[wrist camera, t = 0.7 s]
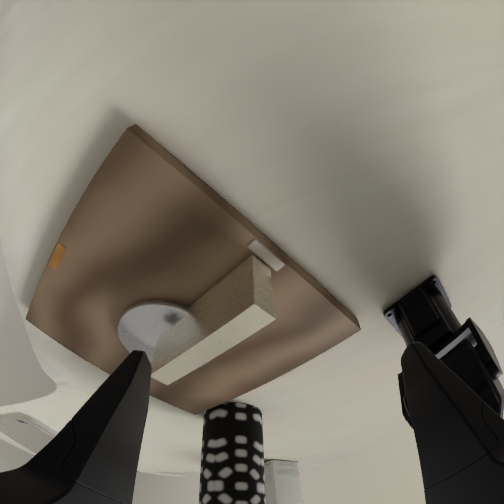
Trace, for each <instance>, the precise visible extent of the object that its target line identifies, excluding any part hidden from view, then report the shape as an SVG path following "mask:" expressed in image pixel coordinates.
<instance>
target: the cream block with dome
mask: <svg viewBox="0 0 504 504" xmlns="http://www.w3.org/2000/svg"><path fill="white" fill-rule="evenodd" d="M275 319H276V315H275V306H274V297H273V288H272V280H271V271H270V269H269V268H268V267H267V266H266V265H264V264H263V263H262V262H261V261H260V260H258V259H257V258H256V257H255V256H253V255H251V256H250V257H249V258H248V259H246V260H245V261H244V262H243V263H242V264H240V265H239V266H238V267H237V268H235V269H234V270H233V271H232V272H231V273H229V274H228V275H227V276H226V277H225V278H223V279H222V280H221V281H220V282H219V283H217V284H216V285H215V286H214V287H212V288H211V289H210V290H209V291H208V292H206V293H205V294H204V295H203V296H202V297H200V298H199V299H198V300H197V301H195V302H194V303H193V304H192V305H191V306H189V307H187V306H185V305H182V304H179V303H175V302H172V301H166V300H145V301H141V302H137V303H135V304H133V305H131V306H129V307H128V308H127V309H126V310H125V311H124V312H123V314H122V316H121V319H120V321H119V324H118V335H119V338H120V340H121V342H122V344H123V345H124V347H125V348H126V349H127V350H128V351H129V352H130V353H131V352H132V351H133V350H140V351H144V352H145V353H146V354H147V357H148V359H149V361H150V364H151V367H152V373H151V377H152V378H154V379H156V380H158V381H160V382H162V383H164V384H166V385H169V384H171V383H173V382H174V381H176V380H178V379H180V378H181V377H183V376H185V375H187V374H188V373H190V372H192V371H193V370H195V369H197V368H200V367H202V366H204V365H206V364H207V363H209V362H210V361H211V360H212V359H214V358H215V357H217V356H219V355H220V354H222V353H224V352H225V351H227V350H228V349H230V348H232V347H233V346H235V345H237V344H238V343H240V342H241V341H243V340H244V339H246V338H248V337H249V336H251V335H252V334H254V333H255V332H257V331H259V330H260V329H262V328H263V327H265V326H266V325H268V324H269V323H271V322H272V321H274V320H275Z"/></svg>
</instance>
